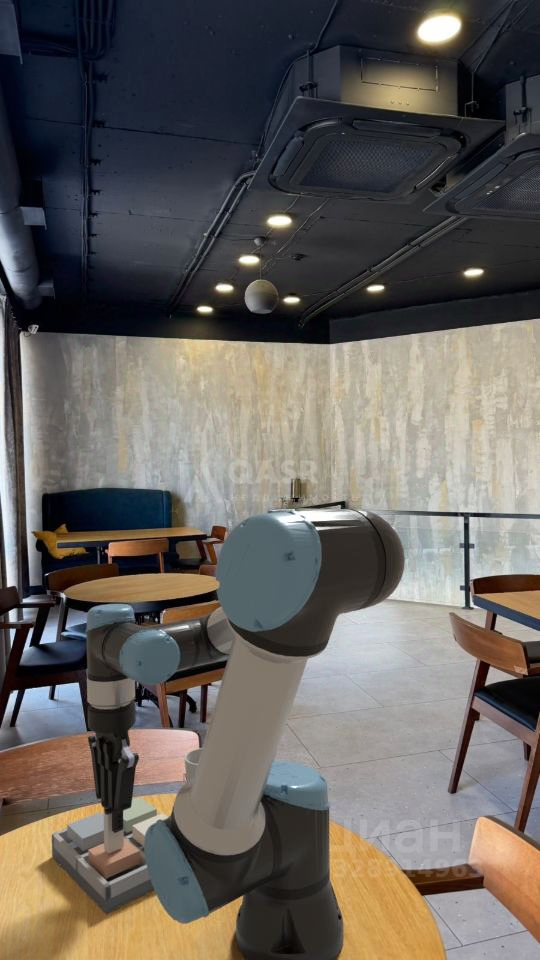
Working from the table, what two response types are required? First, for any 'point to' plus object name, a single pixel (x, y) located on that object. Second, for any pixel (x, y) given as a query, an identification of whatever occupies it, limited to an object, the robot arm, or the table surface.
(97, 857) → the key terracotta
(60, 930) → the table surface
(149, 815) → the key sage
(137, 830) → the key cream
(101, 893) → the keypad base
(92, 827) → the key slate
